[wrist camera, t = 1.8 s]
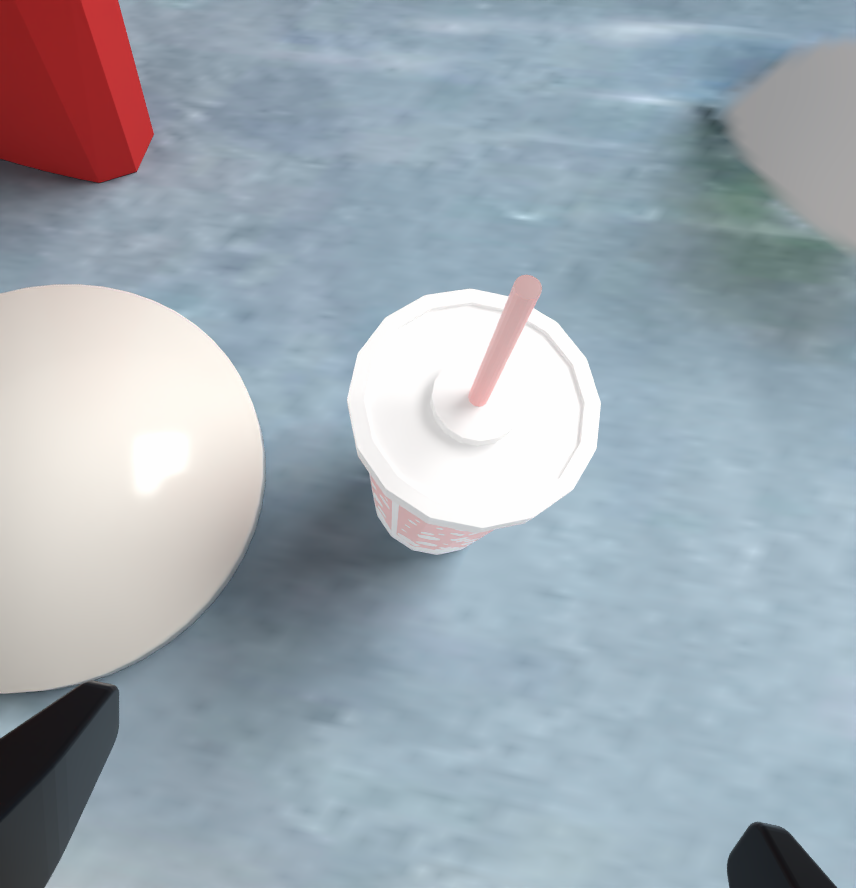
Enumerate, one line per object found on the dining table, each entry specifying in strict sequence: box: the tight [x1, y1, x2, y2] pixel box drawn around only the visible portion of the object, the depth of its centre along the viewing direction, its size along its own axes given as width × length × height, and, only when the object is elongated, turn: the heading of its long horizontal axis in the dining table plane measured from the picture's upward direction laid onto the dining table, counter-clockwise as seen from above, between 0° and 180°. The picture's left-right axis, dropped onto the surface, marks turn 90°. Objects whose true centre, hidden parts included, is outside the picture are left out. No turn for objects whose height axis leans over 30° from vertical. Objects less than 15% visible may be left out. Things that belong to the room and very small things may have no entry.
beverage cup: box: [347, 275, 601, 555], centre depth 17 cm, size 6×6×14 cm
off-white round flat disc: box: [0, 285, 266, 694], centre depth 22 cm, size 14×14×1 cm
